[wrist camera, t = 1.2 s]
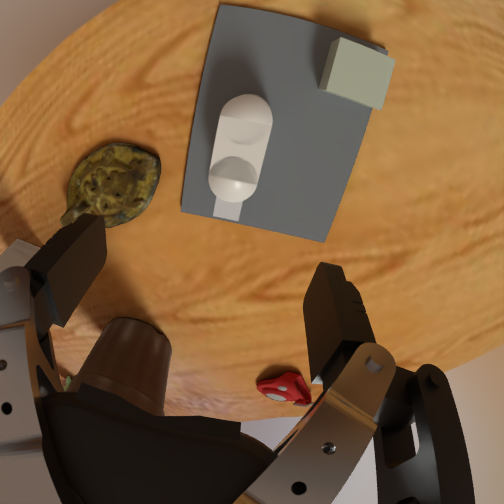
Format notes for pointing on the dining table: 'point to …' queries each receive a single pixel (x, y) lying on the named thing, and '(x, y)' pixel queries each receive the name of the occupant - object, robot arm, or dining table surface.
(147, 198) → the olive teardrop lump
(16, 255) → the supplement box
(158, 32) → the dining table surface
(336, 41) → the block
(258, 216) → the mat
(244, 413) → the dining table surface
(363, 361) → the robot arm
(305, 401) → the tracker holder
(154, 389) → the plant pot
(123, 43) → the dining table surface
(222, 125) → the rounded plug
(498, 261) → the dining table surface
